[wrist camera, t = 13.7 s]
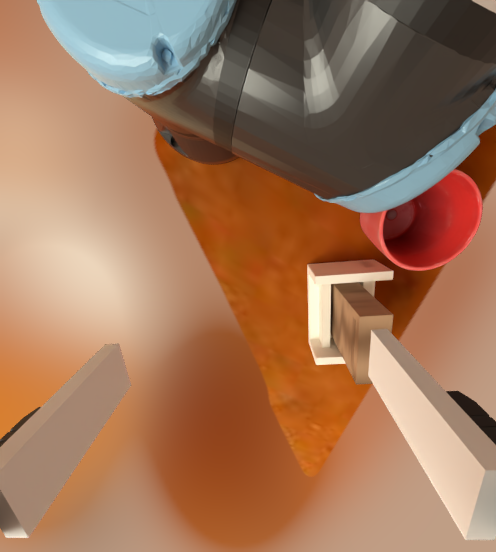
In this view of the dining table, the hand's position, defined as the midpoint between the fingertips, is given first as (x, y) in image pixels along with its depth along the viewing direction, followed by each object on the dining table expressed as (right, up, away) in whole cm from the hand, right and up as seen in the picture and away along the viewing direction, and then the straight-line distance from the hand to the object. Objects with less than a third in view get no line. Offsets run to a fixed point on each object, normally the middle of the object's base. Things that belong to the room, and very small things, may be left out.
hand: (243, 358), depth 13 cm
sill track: (+15, 0, +27) cm, 31 cm away
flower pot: (+20, +13, +23) cm, 33 cm away
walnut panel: (+15, 0, +26) cm, 30 cm away
